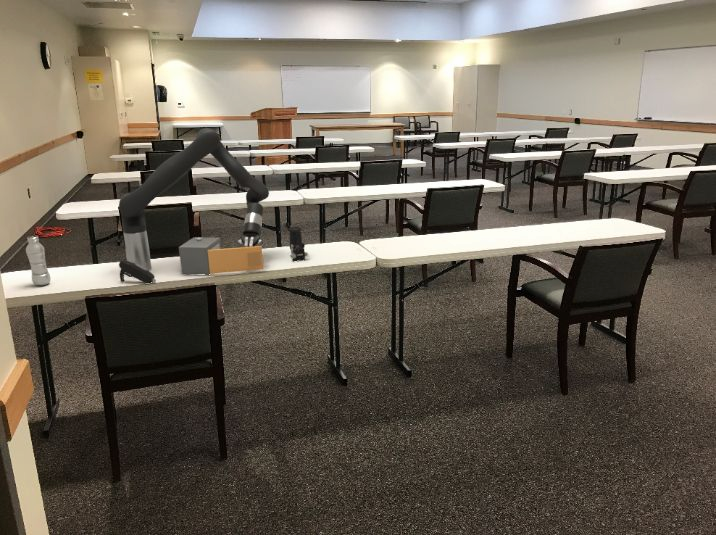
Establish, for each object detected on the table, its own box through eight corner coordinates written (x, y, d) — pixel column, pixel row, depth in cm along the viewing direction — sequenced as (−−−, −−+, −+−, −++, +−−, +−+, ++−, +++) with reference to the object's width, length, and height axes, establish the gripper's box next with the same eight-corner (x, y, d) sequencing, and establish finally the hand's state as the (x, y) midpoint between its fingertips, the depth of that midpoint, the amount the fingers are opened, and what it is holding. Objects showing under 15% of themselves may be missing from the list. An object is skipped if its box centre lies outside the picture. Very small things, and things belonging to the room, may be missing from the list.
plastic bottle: (44, 287, 222) (34, 239, 216) (29, 287, 223) (19, 238, 217) (55, 282, 228) (46, 234, 222) (40, 281, 229) (30, 234, 223)
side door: (210, 273, 233) (207, 250, 230) (263, 268, 238) (261, 245, 235) (209, 274, 232) (207, 251, 229) (263, 269, 236) (261, 246, 233)
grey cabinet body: (178, 274, 235) (174, 245, 231) (193, 263, 250) (190, 235, 246) (209, 275, 234) (206, 245, 230) (222, 263, 249) (220, 235, 245)
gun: (147, 297, 226) (155, 276, 223) (113, 278, 227) (120, 257, 223) (151, 294, 229) (159, 274, 225) (117, 275, 229) (124, 255, 226)
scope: (289, 232, 245) (283, 227, 254) (291, 262, 249) (285, 256, 258) (307, 230, 248) (301, 225, 257) (308, 259, 252) (302, 254, 261)
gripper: (235, 221, 241) (229, 257, 234) (265, 221, 240) (260, 257, 232) (240, 229, 248) (234, 265, 240) (269, 229, 246) (264, 265, 239)
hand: (247, 261), depth 236 cm, fingers closed
